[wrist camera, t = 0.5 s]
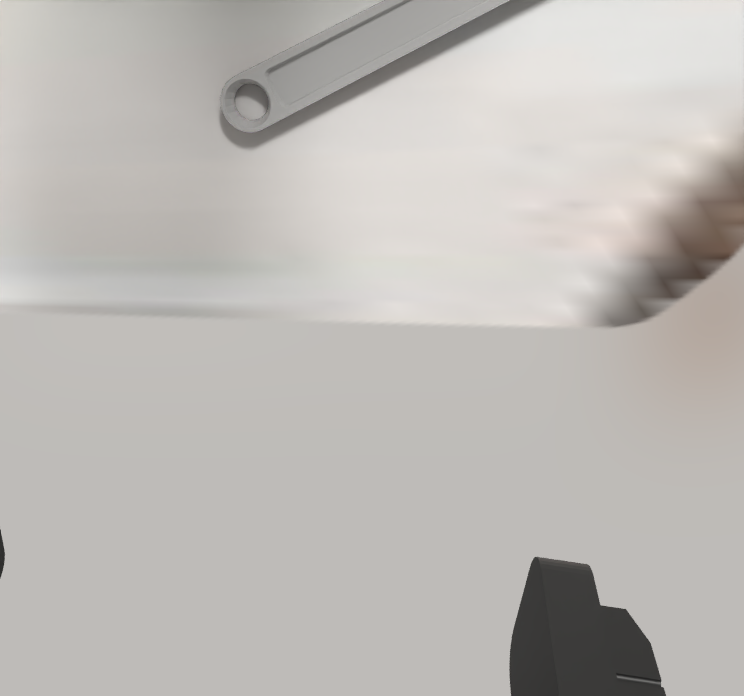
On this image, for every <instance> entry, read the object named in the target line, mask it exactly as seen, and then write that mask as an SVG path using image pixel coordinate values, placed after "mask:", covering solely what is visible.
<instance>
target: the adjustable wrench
mask: <svg viewBox="0 0 744 696" xmlns="http://www.w3.org/2000/svg"><path fill="white" fill-rule="evenodd" d="M507 1H509V0H384V1H382V2H380V3H378V4H376V5H374V6H372V7H370V8H368V9H366V10H364V11H362V12H360V13H358V14H356V15H354V16H352V17H350V18H348V19H346V20H344V21H342V22H340V23H338V24H336V25H335V26H333V27H331V28H329V29H327V30H325V31H323V32H321V33H319V34H317V35H315V36H313V37H311V38H309V39H307V40H305V41H303V42H301V43H299V44H297V45H295V46H293V47H291V48H289V49H287V50H285V51H283V52H281V53H279V54H277V55H275V56H274V57H272V58H270V59H268V60H266V61H264V62H262V63H260V64H258V65H256V66H254V67H252V68H250V69H248V70H246V71H244V72H242V73H240V74H238V75H236V76H234V77H233V78H231V79H230V80H229V81H228V82H227V83H226V84H225V86H224V88H223V89H222V93H221V97H220V101H221V109H222V112H223V114H224V117H225V118H226V119H227V121H228V122H229V124H231V125H232V126H233V127H235V128H236V129H237V130H240V131H243V132H250V133H254V132H257V131H260V130H263V129H265V128H267V127H268V126H270V125H272V124H274V123H276V122H278V121H280V120H282V119H284V118H286V117H288V116H289V115H291V114H293V113H295V112H297V111H299V110H301V109H303V108H305V107H307V106H309V105H310V104H312V103H314V102H316V101H318V100H320V99H322V98H324V97H326V96H328V95H330V94H332V93H333V92H335V91H337V90H339V89H341V88H343V87H345V86H347V85H349V84H351V83H353V82H354V81H356V80H358V79H360V78H362V77H364V76H366V75H368V74H370V73H372V72H374V71H376V70H377V69H379V68H381V67H383V66H385V65H387V64H389V63H391V62H393V61H395V60H397V59H398V58H400V57H402V56H404V55H406V54H408V53H410V52H412V51H414V50H416V49H418V48H419V47H421V46H423V45H425V44H427V43H429V42H431V41H433V40H435V39H437V38H439V37H441V36H442V35H444V34H446V33H448V32H450V31H452V30H454V29H456V28H458V27H460V26H462V25H463V24H465V23H467V22H469V21H471V20H473V19H475V18H477V17H479V16H481V15H483V14H485V13H486V12H488V11H490V10H492V9H494V8H496V7H498V6H500V5H502V4H504V3H506V2H507ZM245 84H255V85H258V86H260V87H261V88H262V89H263V90H264V91H265V93H266V94H267V97H268V102H269V106H268V110H267V112H266V114H265V115H264V116H263V117H262V118H260V119H257V120H249V119H246V118H244V117H243V116H241V115H240V114H239V112H238V111H237V109H236V106H235V100H234V98H235V94H236V92H237V90H238V89H239V88H240V87H241V86H242V85H245Z"/></svg>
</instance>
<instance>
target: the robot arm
mask: <svg viewBox="0 0 744 696" xmlns="http://www.w3.org/2000/svg"><path fill="white" fill-rule="evenodd" d="M4 556H5V552H4V546H3V541H2V536H1V531H0V577H1V574H2V571H3V566H4V559H5V558H4ZM510 687H511V696H666V694H665V691H664V688H663V687H661V677H660V674H659V671H658V667H657V664H656V660H655V657H654V654H653V650H652V647H651V643H650V642H649V640H648V639H647V638H646V636H645V635H644V634H643V632H642V631H641V629H640V628H639V627H638V625H637V624H636V623H635V621H634V620H633V619H632V617H631V616H630V615H629V613H628V612H627V610H626V609H621V608H614V607H607V606H601V605H600V602H599V598H598V594H597V589H596V585H595V581H594V576H593V573H592V570H591V568H590V566H589V565H587V564H581V563H575V562H567V561H561V560H554V559H547V558H540V557H535V558H534V559H533V561H532V563H531V566H530V570H529V573H528V577H527V581H526V585H525V588H524V592H523V596H522V600H521V604H520V607H519V611H518V615H517V618H516V622H515V626H514V630H513V635H512V642H511V649H510Z"/></svg>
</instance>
